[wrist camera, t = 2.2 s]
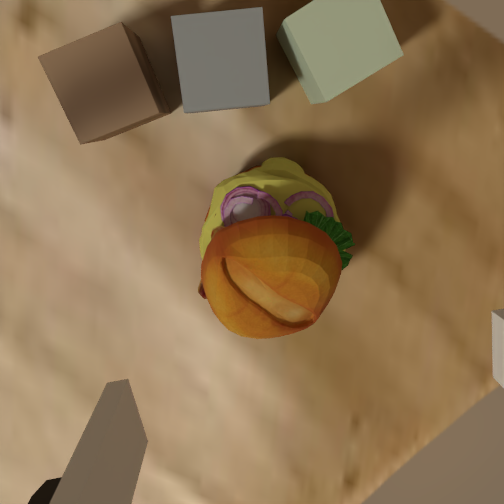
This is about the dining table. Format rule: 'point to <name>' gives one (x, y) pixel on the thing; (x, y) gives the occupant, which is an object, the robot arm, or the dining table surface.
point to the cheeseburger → (271, 250)
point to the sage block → (337, 45)
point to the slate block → (221, 59)
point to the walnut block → (105, 83)
